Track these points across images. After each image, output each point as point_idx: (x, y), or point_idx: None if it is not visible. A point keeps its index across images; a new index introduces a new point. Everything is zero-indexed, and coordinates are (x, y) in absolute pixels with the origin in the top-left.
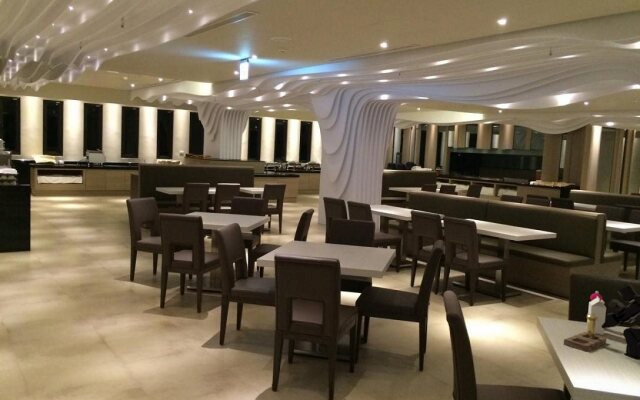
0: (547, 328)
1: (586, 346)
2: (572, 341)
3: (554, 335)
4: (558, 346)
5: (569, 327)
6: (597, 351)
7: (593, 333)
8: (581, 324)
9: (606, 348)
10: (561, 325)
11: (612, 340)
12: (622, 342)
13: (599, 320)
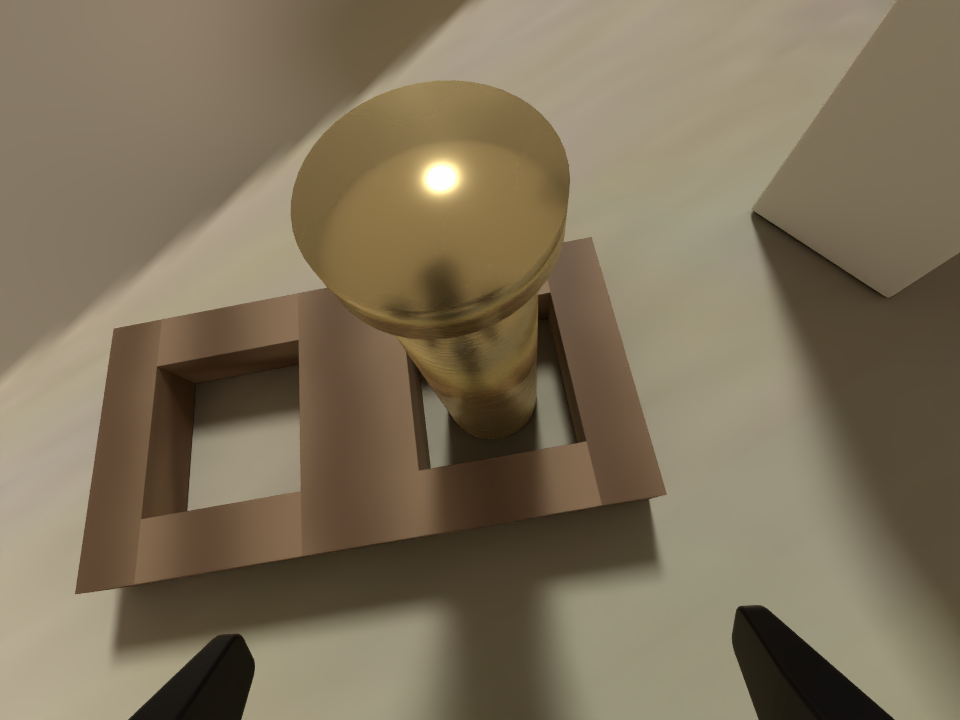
0: (448, 45)
1: (76, 593)
2: (120, 405)
3: None
4: (56, 369)
5: (686, 64)
6: None
7: (457, 407)
8: None
9: (465, 632)
10: (654, 18)
11: (842, 466)
12: (935, 576)
13: None
